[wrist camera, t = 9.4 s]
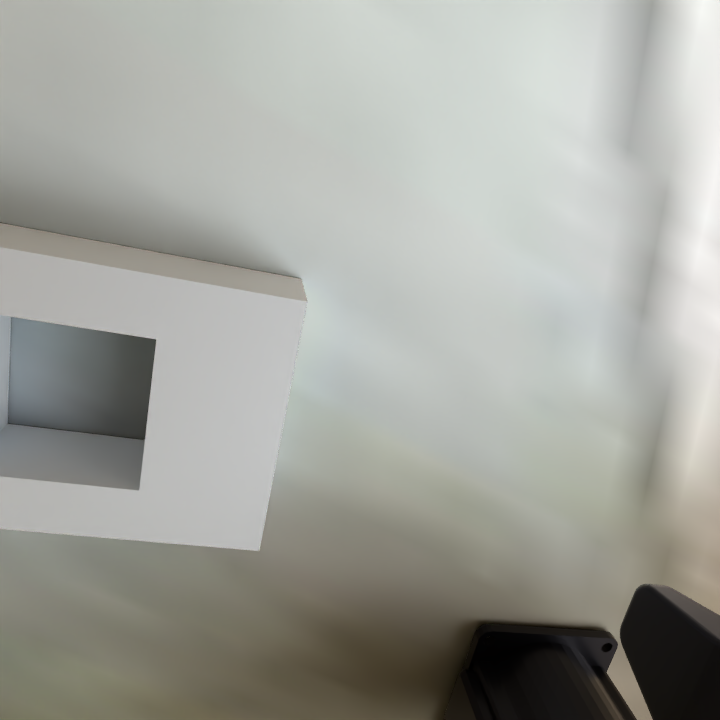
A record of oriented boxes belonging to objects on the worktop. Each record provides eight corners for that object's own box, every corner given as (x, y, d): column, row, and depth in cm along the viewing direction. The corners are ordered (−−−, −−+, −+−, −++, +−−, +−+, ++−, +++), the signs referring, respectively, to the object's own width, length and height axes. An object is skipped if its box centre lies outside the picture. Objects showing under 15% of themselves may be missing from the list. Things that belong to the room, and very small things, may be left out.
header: (301, 279, 18) (307, 301, 15) (260, 497, 21) (259, 550, 18) (-135, 198, 16) (-222, 207, 13) (-123, 456, 18) (-195, 512, 15)
